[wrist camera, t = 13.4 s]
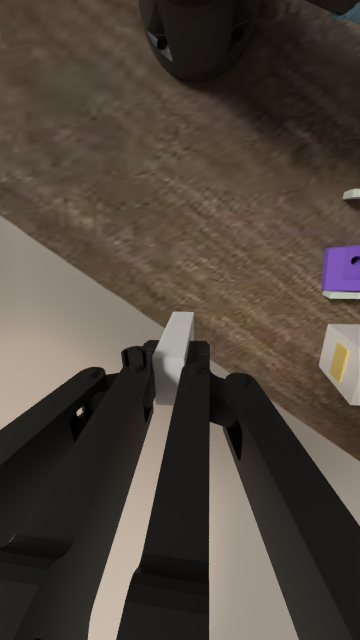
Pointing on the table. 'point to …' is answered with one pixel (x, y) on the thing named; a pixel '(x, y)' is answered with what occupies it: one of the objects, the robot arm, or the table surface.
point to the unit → (343, 359)
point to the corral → (345, 294)
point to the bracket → (341, 268)
